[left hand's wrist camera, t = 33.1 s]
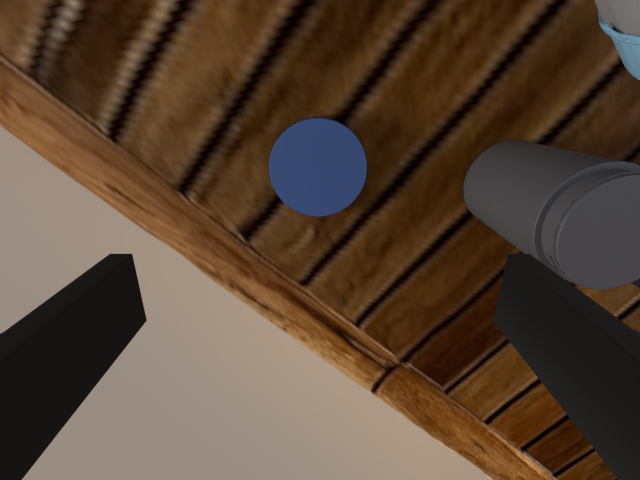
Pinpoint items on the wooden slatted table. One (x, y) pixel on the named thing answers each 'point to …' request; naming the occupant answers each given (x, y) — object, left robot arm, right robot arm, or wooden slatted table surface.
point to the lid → (318, 166)
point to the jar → (561, 209)
